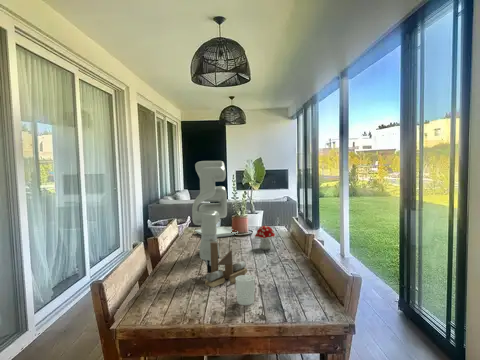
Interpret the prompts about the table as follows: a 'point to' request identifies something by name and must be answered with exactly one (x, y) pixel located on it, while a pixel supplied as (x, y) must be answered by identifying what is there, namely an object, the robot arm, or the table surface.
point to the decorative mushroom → (265, 237)
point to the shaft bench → (216, 276)
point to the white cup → (245, 289)
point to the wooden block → (225, 261)
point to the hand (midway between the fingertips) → (210, 272)
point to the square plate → (221, 232)
